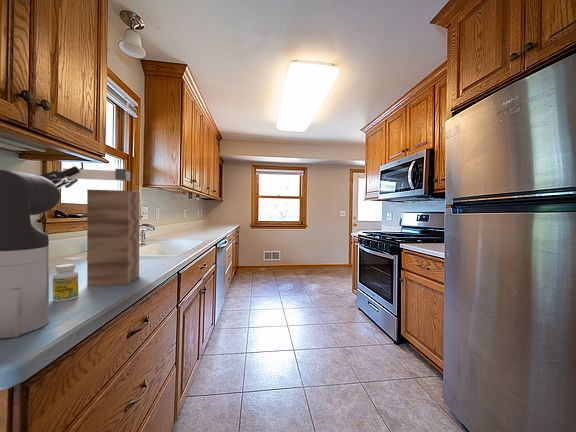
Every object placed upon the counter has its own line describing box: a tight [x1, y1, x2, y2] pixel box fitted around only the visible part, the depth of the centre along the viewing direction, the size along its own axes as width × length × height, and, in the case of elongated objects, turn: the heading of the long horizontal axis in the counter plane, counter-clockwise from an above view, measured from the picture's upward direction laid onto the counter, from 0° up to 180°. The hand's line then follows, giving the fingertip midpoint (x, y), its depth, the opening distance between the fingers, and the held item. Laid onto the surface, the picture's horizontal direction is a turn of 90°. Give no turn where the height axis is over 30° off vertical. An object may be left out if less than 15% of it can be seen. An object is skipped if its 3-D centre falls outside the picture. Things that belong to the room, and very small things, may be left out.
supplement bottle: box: [52, 263, 79, 303], centre depth 69 cm, size 5×5×10 cm
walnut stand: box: [86, 189, 141, 287], centre depth 86 cm, size 10×12×32 cm
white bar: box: [62, 168, 132, 182], centre depth 85 cm, size 4×19×4 cm, turn 102°
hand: (81, 169), depth 84 cm, fingers closed on white bar, 3 cm apart
